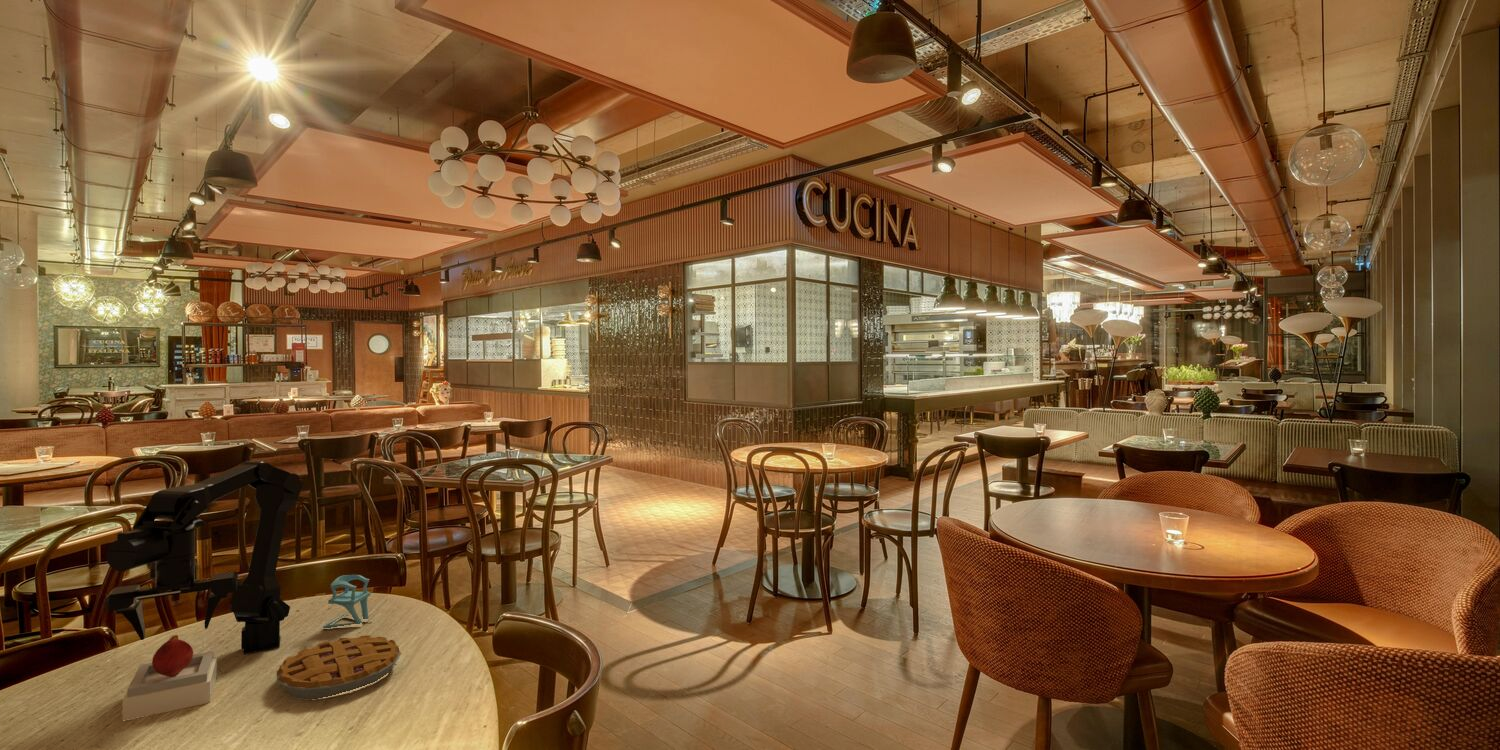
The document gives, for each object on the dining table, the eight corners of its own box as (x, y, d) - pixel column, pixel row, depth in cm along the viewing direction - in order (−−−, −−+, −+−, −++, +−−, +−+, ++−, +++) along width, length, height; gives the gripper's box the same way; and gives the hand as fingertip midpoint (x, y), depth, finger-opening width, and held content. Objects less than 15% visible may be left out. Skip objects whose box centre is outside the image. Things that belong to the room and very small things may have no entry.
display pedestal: (216, 676, 130) (217, 649, 130) (209, 702, 121) (210, 673, 121) (136, 692, 123) (137, 664, 123) (122, 721, 114) (122, 691, 114)
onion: (168, 685, 119) (168, 643, 118) (143, 682, 120) (143, 640, 120) (200, 671, 124) (200, 630, 124) (176, 668, 125) (176, 628, 125)
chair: (356, 631, 153) (357, 582, 153) (322, 630, 154) (323, 581, 153) (375, 618, 161) (376, 572, 161) (342, 617, 161) (344, 570, 161)
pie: (415, 677, 133) (416, 653, 132) (289, 718, 117) (289, 691, 116) (381, 643, 147) (381, 622, 147) (264, 676, 131) (265, 652, 131)
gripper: (239, 537, 135) (239, 609, 135) (118, 551, 124) (117, 629, 124) (236, 550, 126) (235, 628, 126) (104, 567, 115) (104, 651, 115)
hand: (175, 633), depth 123 cm, fingers open, 9 cm apart
